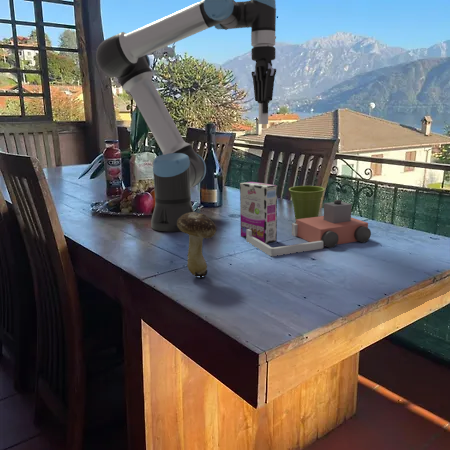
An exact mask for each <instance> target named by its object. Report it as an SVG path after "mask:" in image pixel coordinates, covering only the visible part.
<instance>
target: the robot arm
mask: <svg viewBox="0 0 450 450" xmlns="http://www.w3.org/2000/svg"><path fill="white" fill-rule="evenodd" d="M276 19H277V7H276V0H246V1H235V0H200V1H198V2H195V3H193V4H191V5H189V6H186V7H185V8H182V9H180V10H177V11H176V12H174V13H172V14H169V15H167V16H164V17H162V18H160V19H157V20H156V21H153V22H151V23H148V24H146V25H144V26H142V27H139V28H138V29H135V30H133V31H130V32H128V33H126V32H124V31H122V32H121V31H120V33H117V34H115V35H112V36H110V37H108V38H106V39H104V40H103V41H102V42H101V43H100V44H99V45H98V47H97V49H96V52H95V60H96V63H97V66H98V68H99V69H100V70H101V72H102V73H104V74H105V75H107V76H108V77H112V78H116V79H117V81H118V82H119V85H120V87H121V89H122V90H124V91H126V92H129V94H130V96H131V97H132V99H133V101H134V103H135V104H136V107H137V108H138V109H139V112H140V114H141V116H142V118H143V120H144V121H145V123H146V125H147V127H148V129H149V130H150V132H151V133H152V136H153V138H154V139H155V141H156V143H157V146H158V147H159V148H160V151H161V152H162V154H160V155H158V156H156V157H154V159H153V163H152V172H153V184H154V185H153V189H154V199H155V200H154V202H155V203H154V204H155V205H154V209H153V212H152V216H151V220H150V225H151V229H152V230H154V231H159V232H169V233H170V232H174V233H175V232H182V231H181V230H180V229H179V228H178V226H177V221H178V219H179V218H180V217H181V216H182V215H184V214H186V213H190V212H195V210H194V207H193V204H192V193H191V192H192V191H191V189H192V188H194V187H196V186H198V185H199V184H200V183H201V182H202V181H203V179H205V176H206V173H207V165H206V162H205V159H204V158H203V157H202V156H201V155H199V154H198V153H196V151H195V150H194V148H193V147H192V146H193V145H192V144H191V143H190V142H189V143H188V142H186V141H185V139H184V138H183V137H182V134H181V133H180V130H179V129H178V127H177V125H176V123H175V121H174V120H173V118H172V115H171V114H170V112H169V111H168V108H167V106H166V105H165V103H164V101H163V99H162V96H161V95H160V94H159V92H158V89H157V87H156V86H155V84H154V83H153V80H152V79H153V75H154V73H153V72H152V69H151V67H150V66H151V59H150V57H149V55H150V54H152V53H154V52H156V51H158V50H161V49H163V48H166V47H168V46H170V45H173V44H176V43H177V42H179V41H181V40H184V39H187V38H189V37H192V36H194V35H196V34H197V33H198V34H199V33H200V32H202V31H206V30H207V29H210V28H212V27H214V28H215V29H216V30H225V31H227V30H233V29H235V30H236V29H244V28H247V29H249V28H251V33H250V34H251V35H250V36H251V37H250V42H251V43H250V44H251V46H252V48H251V60H252V61H254V62H255V66H254V69H255V70H254V71H251V77H252V83H253V95H254V100H255V102H257V104H258V124H259V125H269V104H270V102H271V101H273V97H274V96H273V95H274V94H273V93H274V86H275V77H276V75H277V74H276V73H277V68H274V67H273V63H272V61H274V60H275V59H276V39H277V36H276V27H277V26H276V25H277V23H276V21H277V20H276Z"/></svg>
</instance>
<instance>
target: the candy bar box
mask: <svg viewBox="0 0 450 450" xmlns="http://www.w3.org/2000/svg"><path fill="white" fill-rule="evenodd" d="M239 195H240V196H239V198H240V200H239V201H240V202H239V207H240V209H239V210H240V212H239V215H240V237H242V238H245V239H246V229H250V230H252V236H253V237H255V238H257V239H258V240H260V241H262V242H264V243H265V244H270V243H273V242H274V243H275V242H276V241H277V239H278V238H277V235H278V233H277V229H278V227H277V226H278V224H277V223H278V212H277V211H278V185H276V184H269V183H263V182H255V181H247V182H246V181H245V182H240V183H239Z"/></svg>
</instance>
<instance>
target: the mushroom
mask: <svg viewBox="0 0 450 450" xmlns="http://www.w3.org/2000/svg"><path fill="white" fill-rule="evenodd" d="M177 226H178V228H179V229H180V230H181V231H180V232H182V233H184V234H186V235H188V250H187V254H186V256H187V265H186V266H187V269H188V271H189V273H191V274H192V276H194V277H195V276H200V277H202V276H205V275H207V274H208V264H207V262H206V259H205V257H204V255H203V240H204V239H211V238H212V237H214V236H215V234H216V232H217V226H216V224H215V223H214V221H213V220H212V219H211V218H210V217H209V216H207V215H206V214H204V213H200V212H195V211H194V212H190V213H186V214H184V215H182V216H181V217H180V218H179V219H178V221H177Z"/></svg>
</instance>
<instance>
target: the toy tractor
mask: <svg viewBox="0 0 450 450" xmlns="http://www.w3.org/2000/svg"><path fill="white" fill-rule="evenodd" d="M352 206H353V205H352V203H349V202H345V201H342V199H334V201H331V202H324V203H323V215H321V216H319V215H318V217H311V218H303V219H296V220H295V221H294V223H291V236H294V237H297V238H300V239H302V240H304V241H306V242H304V243H303V242H302V243H297V244H295V243H294V244H288V245H282V246H281V245H280V246H276V247H272V246H270V245H269V244H268V243H264V242H262V241H260V240H258V239H257V238H255V237H253V236H252V230H250V229H246V238H245V240H246V242H247V243H248V242H249V244H250V243H251V244H252V246H253V245H254V246H253V247H255V248H256V247H257V248H256V249H258V248H259V249H260V251H261V250H262V251H261V252H262V253H264V252H265V254H266V255H268V256H269V255H270V256H269V257H271V256H272V257H277V255H278V256H283V254H285V255H289V254H290V253H291V254H297V253H296V252H298V253H303V251H304V252H309V251H316V250H322V249H324V247H327V248H334V247H336V246H337V245H342V244H348V243H355V242H360V243H367V242H368V241H369V240H371V239H370V238H371V237H372V232H371V229H370V228H369V222H367V221H363V220H360V219H357V218H355V217H352ZM251 244H250V245H251ZM259 249H258V250H259Z"/></svg>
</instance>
